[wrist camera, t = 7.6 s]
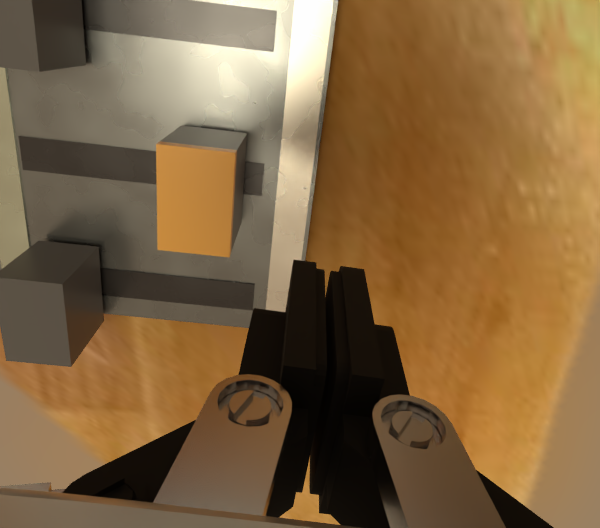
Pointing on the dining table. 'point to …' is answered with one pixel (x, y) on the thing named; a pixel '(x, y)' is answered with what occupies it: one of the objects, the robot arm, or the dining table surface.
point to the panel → (157, 125)
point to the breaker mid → (200, 190)
